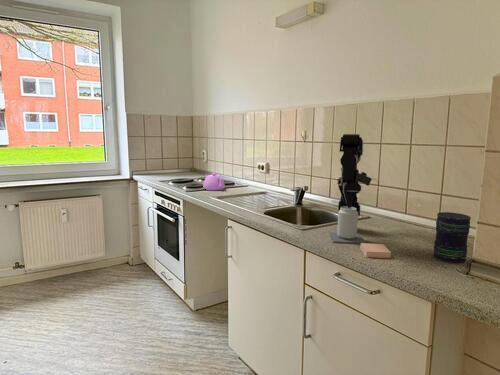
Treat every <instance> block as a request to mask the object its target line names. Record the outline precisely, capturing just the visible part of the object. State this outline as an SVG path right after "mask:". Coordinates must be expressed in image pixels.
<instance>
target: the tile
mask: <svg viewBox="0 0 500 375" xmlns="http://www.w3.org/2000/svg"><path fill="white" fill-rule="evenodd" d="M359 246H360V247H359V248H360V249H359V250H361V251H362V253H363V254H364V256H365V257H366V258H379V259H381V258H382V259H384V258H385V259H391V256H392V252H391V251H390V250H389V249H388V248H387V247H386V245H385V244H383V243H361V244H359Z"/></svg>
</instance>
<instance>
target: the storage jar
mask: <svg viewBox="0 0 500 375" xmlns="http://www.w3.org/2000/svg"><path fill="white" fill-rule="evenodd" d="M436 214H437V215H436V216H437V217H436V222H435V230H436V231H435V232H436V234H435V240H434V244H433V255H432V256H433V258H434V259H435V260H437V261H439V262H442V263H448V264H452V265H453V264H455V265H460V264H465V263H466V260H467V255H468V237H469V233H470V228H471V216H470V215H466V214H463V213H458V212H450V211H449V212H448V211H445V212H444V211H443V212H442V211H441V212H437V213H436Z"/></svg>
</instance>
